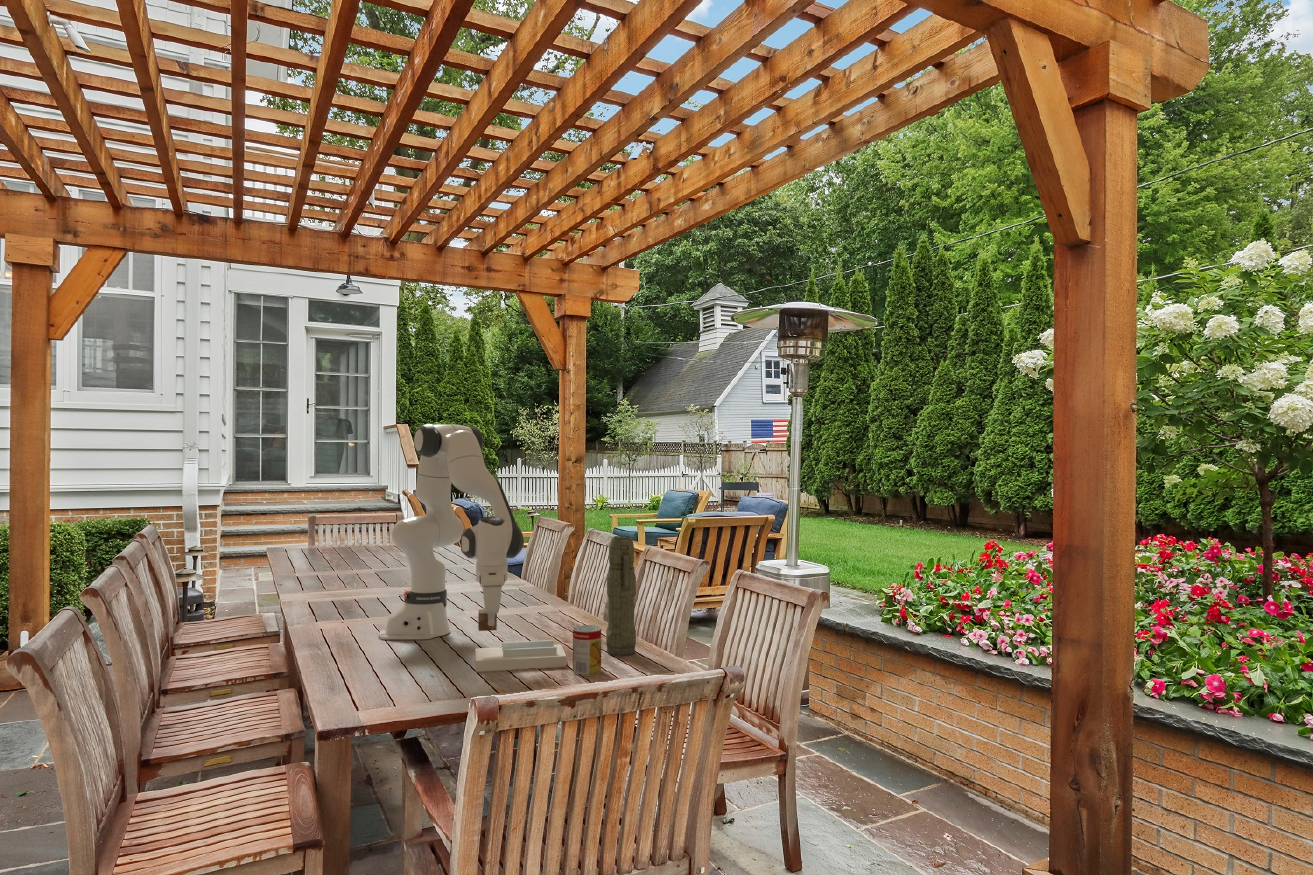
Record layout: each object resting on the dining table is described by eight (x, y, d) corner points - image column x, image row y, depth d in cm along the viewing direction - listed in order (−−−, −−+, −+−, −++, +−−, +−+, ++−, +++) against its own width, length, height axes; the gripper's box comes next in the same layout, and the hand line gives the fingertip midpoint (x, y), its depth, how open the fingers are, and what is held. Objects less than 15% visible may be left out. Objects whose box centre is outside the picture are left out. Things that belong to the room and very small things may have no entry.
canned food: (604, 668, 228) (604, 625, 229) (596, 676, 221) (596, 632, 221) (577, 666, 230) (578, 624, 230) (568, 674, 223) (569, 630, 223)
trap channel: (475, 671, 225) (475, 653, 225) (475, 658, 238) (475, 641, 238) (566, 666, 230) (566, 648, 230) (560, 654, 244) (560, 637, 244)
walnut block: (478, 630, 229) (478, 613, 229) (478, 626, 234) (478, 609, 234) (496, 630, 231) (496, 612, 231) (495, 626, 235) (496, 608, 235)
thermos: (615, 658, 239) (616, 539, 239) (600, 649, 249) (600, 535, 250) (642, 655, 243) (643, 538, 243) (626, 646, 253) (626, 534, 254)
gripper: (480, 568, 242) (479, 615, 242) (480, 580, 222) (480, 631, 222) (501, 568, 243) (500, 614, 243) (504, 580, 224) (503, 630, 224)
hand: (490, 622), depth 233 cm, fingers closed on walnut block, 5 cm apart
